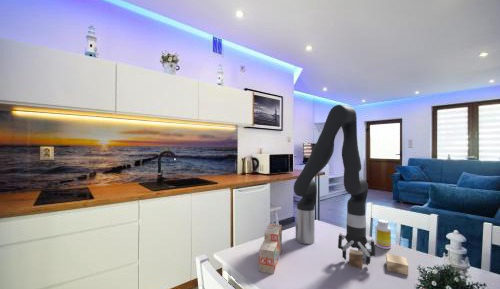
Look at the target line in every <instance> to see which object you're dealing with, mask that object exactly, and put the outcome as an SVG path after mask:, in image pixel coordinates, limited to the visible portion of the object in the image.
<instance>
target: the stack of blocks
mask: <svg viewBox="0 0 500 289" xmlns="http://www.w3.org/2000/svg"><path fill="white" fill-rule="evenodd" d="M263 235H264V237H263V239H264V240H263V241H262V243H261V244H260V247H259V249H258V250H259V257H258V272H262V273H266V274H271V275H273V274H275V270H276V269H277V268H276V267H277V265H278V263H279V262H278V261H279V258H280V256H281V253H282V251H283V250H282V249H283V240H282V239H283V236H282V235H283V225H282V224H275V223H273V224H272V223H269V225H268V226H267V227H266V229H265V231H264V234H263Z"/></svg>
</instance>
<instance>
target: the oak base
mask: <svg viewBox="0 0 500 289" xmlns="http://www.w3.org/2000/svg"><path fill="white" fill-rule="evenodd" d="M385 262H386V263H385V264H386V269H387V271H390V272H393V273H394V272H395V273H397V274H401V275H406V276H409V264H408V261H407V257H404V256H400V255H395V254H391V253H390V254H389V253H385Z"/></svg>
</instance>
